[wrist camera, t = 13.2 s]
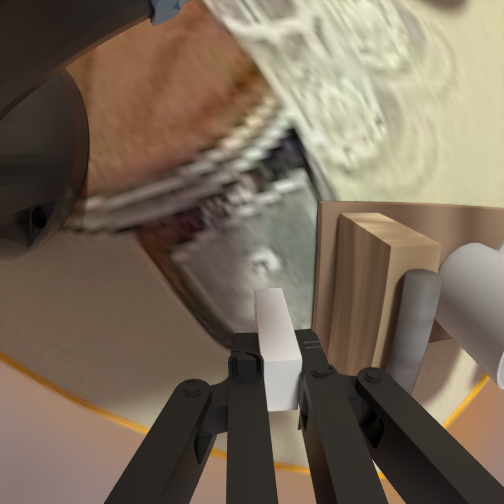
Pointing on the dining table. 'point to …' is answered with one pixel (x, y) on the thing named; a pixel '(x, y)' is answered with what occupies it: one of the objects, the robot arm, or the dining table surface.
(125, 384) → the dining table surface
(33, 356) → the dining table surface
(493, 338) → the cup
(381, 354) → the block
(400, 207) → the base
